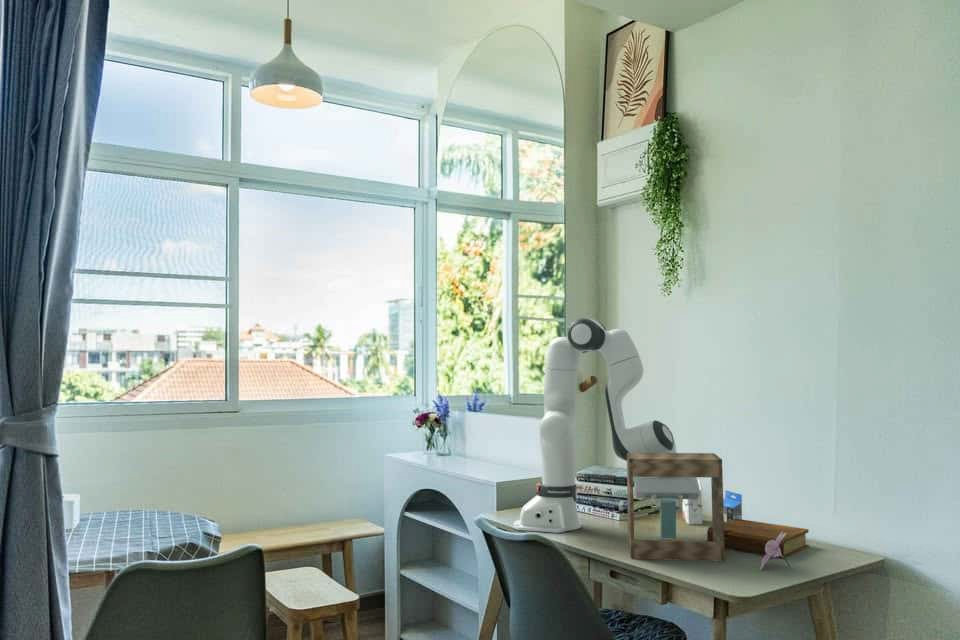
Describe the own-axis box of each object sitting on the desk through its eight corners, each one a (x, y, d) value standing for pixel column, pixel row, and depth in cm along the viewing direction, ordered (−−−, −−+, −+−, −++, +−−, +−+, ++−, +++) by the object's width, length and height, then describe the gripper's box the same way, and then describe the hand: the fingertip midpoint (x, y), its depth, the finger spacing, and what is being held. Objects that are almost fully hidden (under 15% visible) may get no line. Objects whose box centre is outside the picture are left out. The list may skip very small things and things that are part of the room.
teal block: (661, 538, 234) (661, 501, 235) (660, 535, 238) (660, 499, 238) (676, 538, 233) (675, 502, 234) (674, 536, 237) (674, 500, 238)
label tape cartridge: (716, 528, 252) (715, 490, 252) (726, 527, 253) (725, 490, 254) (733, 534, 243) (732, 495, 244) (743, 533, 245) (742, 494, 245)
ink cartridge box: (681, 519, 266) (680, 476, 267) (696, 519, 266) (695, 476, 267) (688, 524, 258) (687, 480, 258) (702, 524, 258) (701, 480, 258)
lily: (771, 562, 214) (753, 532, 214) (810, 552, 206) (791, 521, 207) (760, 586, 204) (741, 555, 205) (801, 576, 197) (781, 544, 197)
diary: (707, 547, 229) (706, 528, 230) (735, 536, 243) (735, 518, 243) (783, 560, 213) (782, 539, 214) (809, 548, 227) (808, 528, 227)
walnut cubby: (630, 558, 215) (629, 458, 217) (628, 546, 229) (626, 452, 231) (724, 561, 212) (722, 459, 213) (716, 548, 226) (714, 453, 227)
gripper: (632, 465, 246) (634, 502, 236) (697, 466, 243) (702, 503, 233) (631, 477, 250) (633, 513, 240) (696, 478, 247) (700, 515, 237)
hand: (668, 508), depth 236 cm, fingers closed on teal block, 4 cm apart
